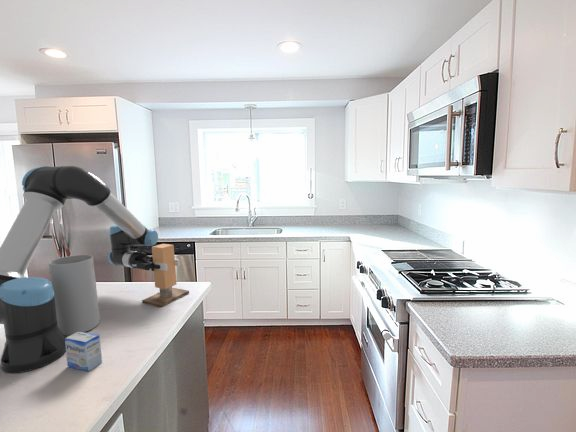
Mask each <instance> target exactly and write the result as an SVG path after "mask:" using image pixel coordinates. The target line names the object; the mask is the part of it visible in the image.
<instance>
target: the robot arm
mask: <svg viewBox="0 0 576 432" xmlns="http://www.w3.org/2000/svg"><path fill="white" fill-rule="evenodd" d="M21 185H22V190H23V193H22V197H23V198H24V200H25V202H24V203H23V204H22V207H21V209H20V210H19V212H18V214H17V216H16V218H15V220H14V222H13V224H12V225H11V227H10V229H9V230H8V233H7V234H6V237H5V239H4V240H3V242H2V244H1V246H0V325H3V329H4V335H5V342H4V346H3V351H2V354H1V357H0V366H1V370H2V371H3V372H4V373H9V374H11V373H12V374H14V373H15V374H16V373H18V374H19V373H23V372H28V371H33V370H35V369H38V368H41V367H44V366H46V365H49V364H51V363H52V362H56V360H58V359H60V358H61V357H62V356H63V355H64V354H66V345H65V338H66V336H65V335H63V334H62V332H61V330H60V329H59V327H58V325H57V317H56V307H55V298H54V290H53V287H52V283H51V280H49V279H48V278H45V277H41V276H30V277H25V274H26V271H27V270H28V267H29V265H30V264H31V261H32V259H33V257H34V255H35V253H36V251H37V249H38V247H39V245H40V243H41V241H42V239H43V237H44V234H45V233H46V231H47V228H48V226H49V224H50V222H51V220H52V218H53V216H54V214H55V212H56V211H57V210H60V209H62V208H63V207H64V205H65V203H66V202H67V199H74V200H75V199H76V200H79V201H82V202H84V203H85V204H86V205H88V206H90V207H95V208H96V209H97V211H99V212H100V213H101V214H102V215H104V216H105V217H106V218H107V219H108V220H109V221H110V222H112V223H113V224H114V225H111V226H110V227H109V238H110V246H111V250H110V251H109V252H108V254H107V262H109V263H110V264H111V265H114V266H118V267H127V268H130V269H139V270H143V271H150V270H151V272H154V269H158V270H165V271H167V270H168V269H167V264H164V263H157V262H156V263H155V264H154V263H153V256H152V255H148V254H147V253H145V252H144V251H143V252H142V251H137V250H135V251H134V250H131V247H130V246H141V247H142V246H144V247H145V246H146V247H148V246H149V247H150V246H151V247H153V246H156V244H157V243H158V240H159V233H158V231H157V230H155V229H151V228H149V229H148V228H147V227H146V226H145V225H144V224H143V223H142V222H141V221H140V220H139V219H138V218H137V217H136V216H135V215H134V214H133V213H132V212H131V211H130V210H129V209H128V208H127V207H125V205H124V204H123V203H122V202H120V200H119V199H117V197H116V196H115V195H114V194H112V189H111V188H110V186H108V185H107V184H106V183H105V182H104V181H103V180H102V179H101V178H99V177H98V176H96V175H95V174H94V173H92V172H91V171H89V170H87V169H84V168H83V167H80V166H75V165H67V166H66V165H65V166H63V165H61V166H47V165H45V166H39V167H35V168H31V169H30V170H28V171H26V172H25V174H24V176H23V178H22V181H21ZM180 264H181V263H180V259H178V258H175V267H180V266H181V265H180Z"/></svg>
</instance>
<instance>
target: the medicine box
mask: <svg viewBox="0 0 576 432" xmlns="http://www.w3.org/2000/svg"><path fill="white" fill-rule="evenodd" d="M65 345H66V352H65V355H66V363H67V368H72V369H75V370H76V369H77V370H81V371H86V372H90V371H92V370H93V369H94V368H96V367H98V366H99V365H101V364H102V363H103V357H102V347H101V346H102V345H101V338H100V335H99V334H95V333H89V332H77V333H75V334H72V335H70V336H67V337H65Z"/></svg>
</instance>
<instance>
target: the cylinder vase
mask: <svg viewBox="0 0 576 432" xmlns="http://www.w3.org/2000/svg"><path fill="white" fill-rule="evenodd" d="M94 261H95V260H94V256H93V255H91V254H76V255H68V256H63V257H58V258H55V259H52V260H50V261H49V262H48V268H49V269H48V270H49V276H50V282H51V283H52V287H53V290H54V298H55V307H56V317H57V325H58V327H59V329H60V330H61V332H62V334H63V335H64V337H66V336H67V337H69V336H71V335H72V334H75V333H77V332H84V333H88V331H91V330H93V329H94V328H96V327H98V325H99V324H100V321H101V319H100V310H99V301H98V300H99V299H98V289H97V281H96V273H95V271H96V270H95V265H94V263H95V262H94Z"/></svg>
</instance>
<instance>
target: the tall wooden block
mask: <svg viewBox="0 0 576 432" xmlns="http://www.w3.org/2000/svg"><path fill="white" fill-rule="evenodd" d="M151 256H153V263H154V264H155V263H156V262H157V263H164V264H167V269H168V270H167V271H165V270H158V269H154V271H153V277H154V287H155V289H156V288H157V289H159V288H162V289H167V288H170V287H172V288H173V287H174V286H176V285H177V284H178V282H177V271H176V266H175V259H176V257H175V246H174V244H168V243H161V244H157V245H153V246H151Z"/></svg>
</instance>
